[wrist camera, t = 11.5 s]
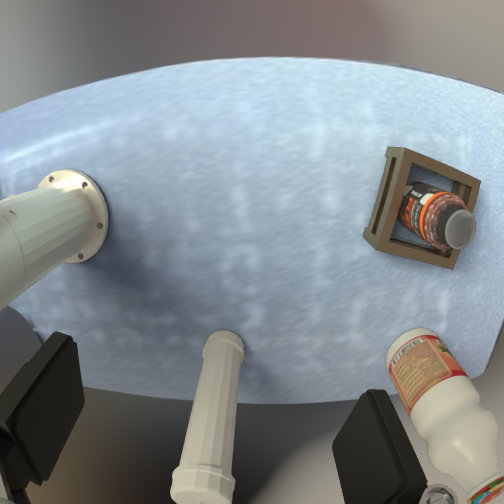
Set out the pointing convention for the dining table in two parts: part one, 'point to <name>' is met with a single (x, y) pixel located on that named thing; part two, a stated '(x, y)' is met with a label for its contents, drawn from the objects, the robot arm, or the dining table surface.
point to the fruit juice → (447, 413)
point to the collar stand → (391, 201)
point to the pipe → (211, 426)
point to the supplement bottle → (436, 216)
